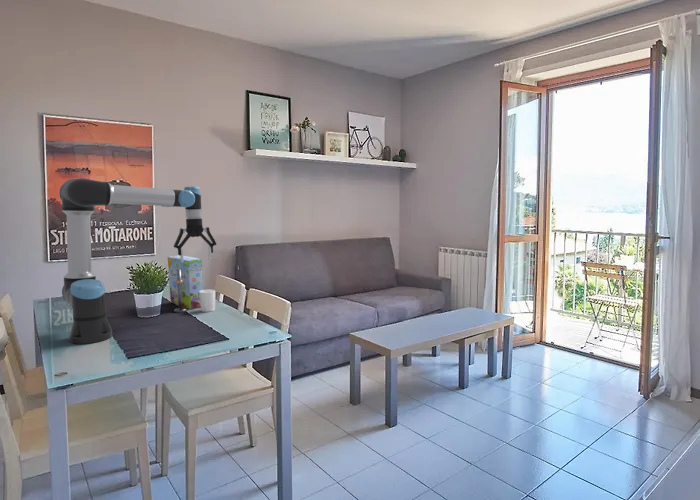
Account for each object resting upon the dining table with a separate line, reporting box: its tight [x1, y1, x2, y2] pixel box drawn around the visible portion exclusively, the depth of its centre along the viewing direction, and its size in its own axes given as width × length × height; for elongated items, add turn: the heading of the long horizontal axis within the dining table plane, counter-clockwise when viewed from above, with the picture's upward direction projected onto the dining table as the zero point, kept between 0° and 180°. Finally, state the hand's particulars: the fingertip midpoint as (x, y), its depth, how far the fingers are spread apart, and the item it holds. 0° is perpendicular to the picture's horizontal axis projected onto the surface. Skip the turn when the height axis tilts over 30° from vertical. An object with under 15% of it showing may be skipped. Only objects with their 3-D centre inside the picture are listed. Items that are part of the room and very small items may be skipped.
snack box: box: [167, 254, 204, 310], centre depth 238 cm, size 22×9×26 cm, turn 49°
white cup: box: [199, 289, 216, 313], centre depth 228 cm, size 8×8×10 cm
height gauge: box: [174, 270, 188, 313], centre depth 226 cm, size 6×6×21 cm
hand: (196, 260), depth 225 cm, fingers open, 13 cm apart
